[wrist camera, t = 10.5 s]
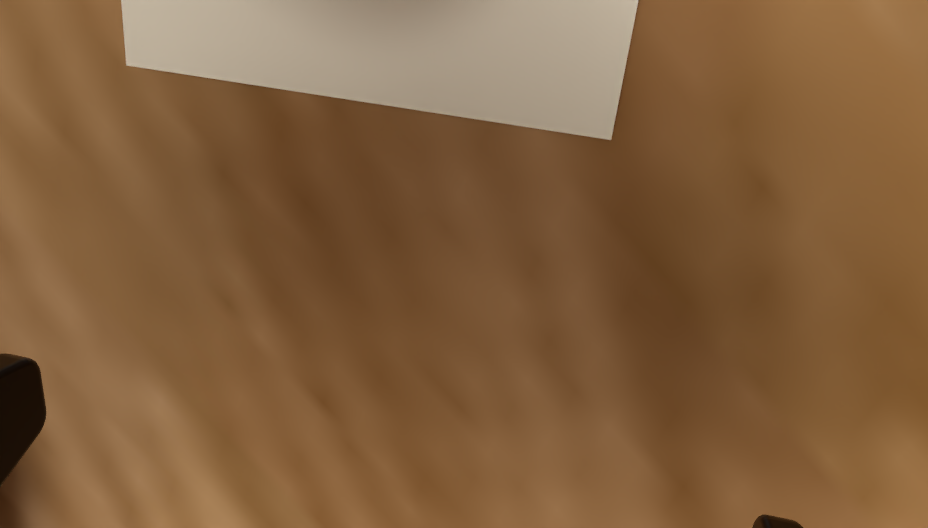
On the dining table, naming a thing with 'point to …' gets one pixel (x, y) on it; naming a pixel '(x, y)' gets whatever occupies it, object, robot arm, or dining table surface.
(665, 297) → the dining table surface
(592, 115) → the potting mat
